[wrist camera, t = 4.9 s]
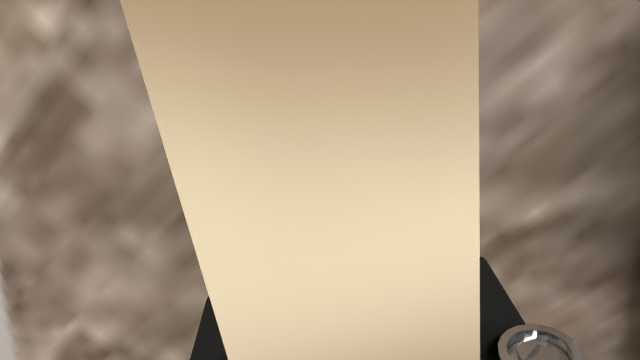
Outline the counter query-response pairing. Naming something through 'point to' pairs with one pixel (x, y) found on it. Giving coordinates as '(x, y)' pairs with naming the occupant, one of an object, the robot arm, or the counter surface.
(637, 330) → the counter surface
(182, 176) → the tall beige plank
